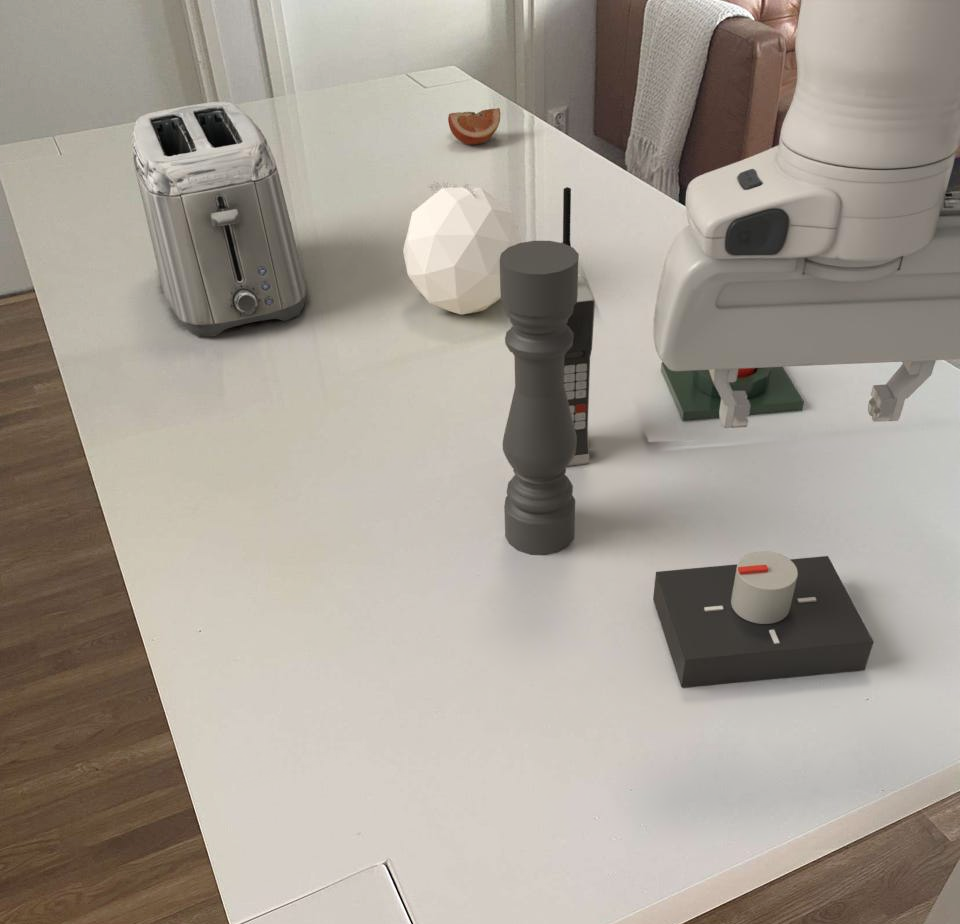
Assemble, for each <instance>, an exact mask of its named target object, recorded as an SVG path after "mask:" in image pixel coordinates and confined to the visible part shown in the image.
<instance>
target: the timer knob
mask: <svg viewBox="0 0 960 924" xmlns="http://www.w3.org/2000/svg"><path fill="white" fill-rule="evenodd" d="M736 564H737V569H736V575H735V580H734V586H733V592H732V598H731V605H732V608H733V610H734V611H735V612H736V613H737V614H738V615H739V616H740V617H741V618H743V619H745V620H747V621H750V622H753V623H758V624H772V623H776V622H779V621H781V620H782V619H784V618H785V617H786V616H787V615H788V613H789V611H790V607H791V602H792V598H793V594H794V589H795V585H796V581H797V576H798V571H797V568H796V566H795V564H794V563H793V562H792V561H791V560H790V558H788V557H787V556H786V555H783V554H780V553H777V552H773V551H768V550H761V551H760V550H759V551H754V552H750V553H747V554H745V555H744V556H742V557H741V558H740V559H739V560H738V562H737V563H736Z"/></svg>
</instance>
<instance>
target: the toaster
mask: <svg viewBox="0 0 960 924" xmlns="http://www.w3.org/2000/svg"><path fill="white" fill-rule="evenodd" d="M131 137H132V140H131V150H132V162H133V168H134V173H135V176H136V180H137V184H138V188H139V192H140V195H141V196H140V197H141V201H142V205H143V210H144V213H145V218H146V222H147V227H148V231H149V236H150V240H151V243H152V249H153V253H154V258H155V262H156V266H157V271H158V275H159V278H160V283H161V288H162V291H163V293H164V296H165V298H166V300H167V302H168V304H169V306H170V308H171V309H172V310H173V312H174V314H175V315H176V316H177V318H178V319H179V320H180V322H181V323H182V325H183V326H184V327H185V329H186V330H188V331H189V332H190V333H191V334H194V335H195V336H196V337H198V338H203V337H217V336H219V335H220V334H221V333H223V331H226V330H228V329H230V328H234V327H238V326H242V325H246V324H250V323H254V322H261V321H267V320H280V321H282V322H286V321H289V320H291V319H293V318H297V317H299V316H300V315H301V312H302V310H303V309H304V306H305V301H306V294H307V289H306V288H307V287H306V283H305V278H304V274H303V273H304V272H303V269H302V264H301V260H300V255H299V251H298V247H297V244H296V240H295V235H294V234H295V233H294V230H293V226H292V222H291V218H290V213H289V210H288V206H287V202H286V198H285V197H286V196H285V193H284V189H283V185H282V182H281V178H280V174H279V169H278V166H277V162H276V159H275V157H274V154H273V152H272V150H271V147H270V145H269V143H268V140H267V139H266V137H265V135H264V133H263V132H262V130H261V129H260V128H259V126H258V125H257V123H255V122H254V120H253V119H252V118H251V117H250V116H248V114H246V113H245V112H244V111H243V110H242V109H241V108H240V107H239V106H237V105H236V104H234V103H232V102H230V101H211V102H204V103H198V104H190V105H184V106H180V107H174V108H169V109H163V110H158V111H153V112H148V113H146V114H143V115H141V116H139V117H138V118H137V119H136V121H135V123H134V126H133V130H132V136H131Z"/></svg>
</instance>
